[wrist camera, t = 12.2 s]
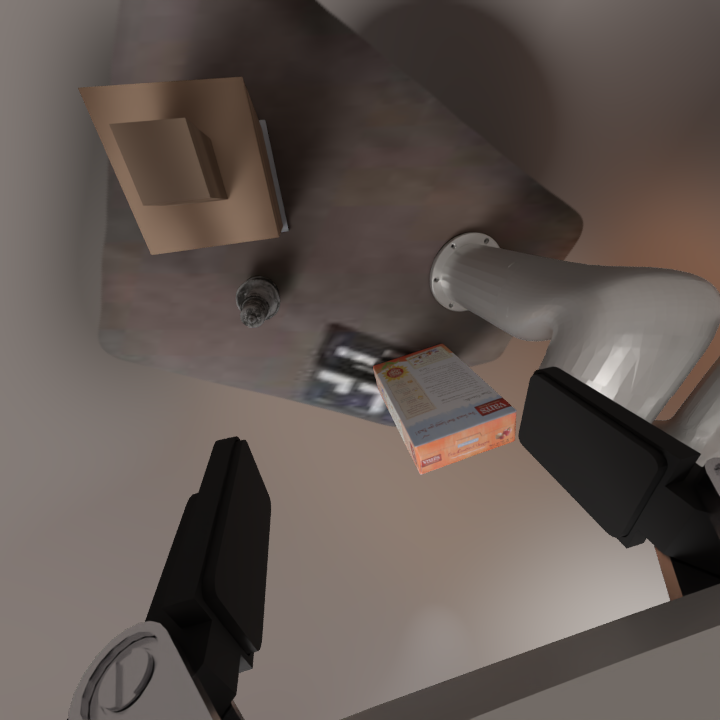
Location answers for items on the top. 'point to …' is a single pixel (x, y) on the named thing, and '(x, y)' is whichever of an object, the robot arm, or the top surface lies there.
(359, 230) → the top surface
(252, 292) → the grey ridged tall piece
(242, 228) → the walnut cover
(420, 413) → the cracker box
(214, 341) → the top surface
